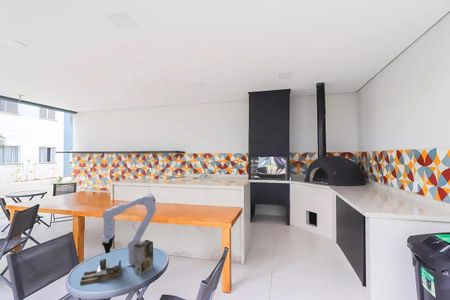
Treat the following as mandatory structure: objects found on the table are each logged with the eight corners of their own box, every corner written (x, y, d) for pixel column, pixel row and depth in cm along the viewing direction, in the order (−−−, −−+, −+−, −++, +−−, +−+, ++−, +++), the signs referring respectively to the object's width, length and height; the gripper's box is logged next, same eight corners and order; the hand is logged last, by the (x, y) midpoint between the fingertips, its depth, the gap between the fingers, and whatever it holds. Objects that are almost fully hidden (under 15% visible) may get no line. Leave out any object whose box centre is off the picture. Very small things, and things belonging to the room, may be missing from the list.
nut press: (121, 268, 130) (121, 259, 130) (119, 277, 121) (119, 267, 121) (85, 274, 124) (85, 265, 124) (80, 284, 114) (80, 274, 114)
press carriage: (109, 266, 127) (109, 256, 127) (106, 273, 119) (106, 262, 120) (99, 268, 125) (99, 258, 125) (96, 275, 118) (96, 264, 118)
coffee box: (146, 265, 133) (146, 239, 134) (153, 268, 130) (153, 241, 130) (133, 272, 126) (133, 244, 126) (141, 275, 122) (141, 247, 123)
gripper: (103, 225, 140) (103, 246, 140) (99, 233, 126) (99, 256, 126) (115, 224, 142) (115, 244, 142) (112, 231, 129) (112, 254, 128)
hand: (108, 250), depth 134 cm, fingers open, 7 cm apart
